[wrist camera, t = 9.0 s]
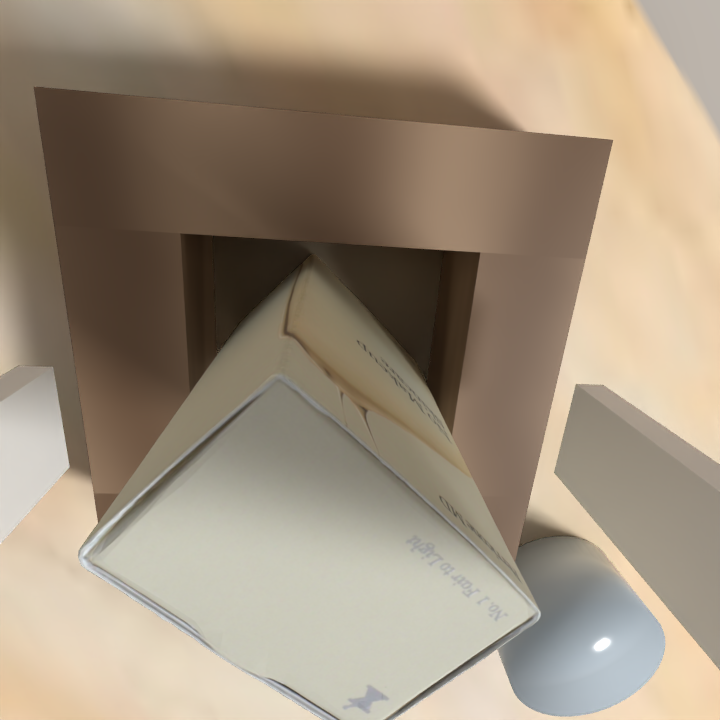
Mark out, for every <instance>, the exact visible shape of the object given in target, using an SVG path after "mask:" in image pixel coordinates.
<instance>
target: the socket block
mask: <svg viewBox="0 0 720 720" xmlns="http://www.w3.org/2000/svg"><path fill="white" fill-rule="evenodd" d="M34 91H35V98H36V105H37V112H38V119H39V125H40V132H41V139H42V146H43V152H44V159H45V166H46V173H47V180H48V186H49V193H50V200H51V207H52V213H53V220H54V227H55V234H56V240H57V247H58V254H59V261H60V268H61V274H62V281H63V288H64V295H65V301H66V308H67V315H68V322H69V329H70V335H71V342H72V349H73V356H74V362H75V369H76V376H77V383H78V389H79V396H80V403H81V410H82V417H83V423H84V430H85V437H86V444H87V450H88V457H89V464H90V471H91V478H92V484H93V491H94V498H95V505H96V511H97V518H98V523H99V521H100V520H101V518H102V517H103V516H104V514H105V513H106V511H107V510H108V509H109V507H110V506H111V504H112V503H113V502H114V500H115V499H116V497H117V496H118V495H119V493H120V492H121V490H122V489H123V488H124V486H125V485H126V483H127V482H128V481H129V479H130V478H131V477H132V475H133V474H134V472H135V471H136V470H137V468H138V467H139V465H140V464H141V463H142V461H143V460H144V458H145V457H146V455H147V454H148V452H149V451H150V450H151V448H152V447H153V445H154V444H155V442H156V441H157V439H158V438H159V437H160V435H161V434H162V432H163V431H164V430H165V428H166V427H167V425H168V424H169V422H170V421H171V419H172V418H173V417H174V415H175V414H176V412H177V411H178V410H179V408H180V407H181V405H182V404H183V403H184V401H185V400H186V398H187V397H188V396H189V394H190V393H191V391H192V390H193V388H194V387H195V385H196V384H197V382H198V381H199V380H200V378H201V377H202V375H203V374H204V373H205V371H206V370H207V368H208V367H209V366H210V364H211V363H212V361H213V360H214V359H215V357H216V356H217V351H216V323H215V296H214V269H213V241H212V235H214V236H230V237H246V238H261V239H277V240H293V241H308V242H324V243H340V244H356V245H371V246H387V247H403V248H419V249H434V250H444V255H443V262H442V270H441V278H440V285H439V293H438V301H437V309H436V316H435V324H434V332H433V339H432V347H431V355H430V363H429V370H428V378H427V386H428V388H429V390H430V392H431V394H432V396H433V398H434V400H435V402H436V404H437V406H438V408H439V411H440V413H441V415H442V417H443V419H444V421H445V423H446V425H447V427H448V429H449V431H450V433H451V435H452V437H453V439H454V442H455V444H456V446H457V447H458V449H459V451H460V453H461V455H462V458H463V460H464V462H465V464H466V466H467V468H468V470H469V472H470V474H471V476H472V478H473V480H474V482H475V484H476V486H477V488H478V490H479V492H480V494H481V496H482V498H483V500H484V502H485V504H486V506H487V508H488V510H489V512H490V514H491V516H492V518H493V520H494V522H495V524H496V526H497V528H498V530H499V532H500V534H501V536H502V538H503V540H504V542H505V544H506V546H507V548H508V550H509V552H510V554H511V556H512V558H513V560H514V562H515V560H516V556H517V551H518V547H519V543H520V538H521V534H522V530H523V525H524V521H525V517H526V513H527V508H528V504H529V500H530V495H531V491H532V487H533V482H534V478H535V474H536V470H537V465H538V461H539V457H540V452H541V448H542V444H543V439H544V435H545V431H546V426H547V422H548V418H549V414H550V409H551V405H552V401H553V396H554V392H555V388H556V383H557V379H558V375H559V371H560V366H561V362H562V358H563V353H564V349H565V345H566V340H567V336H568V332H569V327H570V323H571V319H572V315H573V310H574V306H575V302H576V297H577V293H578V289H579V284H580V280H581V276H582V272H583V267H584V263H585V259H586V254H587V250H588V246H589V241H590V237H591V233H592V229H593V224H594V220H595V216H596V211H597V207H598V203H599V198H600V194H601V190H602V185H603V181H604V177H605V173H606V168H607V164H608V160H609V155H610V151H611V147H612V142H613V140H608V139H597V138H587V137H576V136H565V135H554V134H543V133H532V132H521V131H511V130H500V129H489V128H478V127H467V126H456V125H445V124H435V123H424V122H413V121H402V120H391V119H380V118H369V117H358V116H348V115H337V114H326V113H315V112H304V111H293V110H282V109H272V108H261V107H250V106H239V105H228V104H217V103H206V102H196V101H185V100H174V99H163V98H152V97H141V96H130V95H120V94H109V93H98V92H87V91H76V90H65V89H54V88H44V87H34Z"/></svg>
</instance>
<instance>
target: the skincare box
mask: <svg viewBox="0 0 720 720" xmlns="http://www.w3.org/2000/svg"><path fill="white" fill-rule="evenodd" d="M78 558H79V561H80V564H81V566H82V567H84V568H85V569H86V570H88V571H89V572H91V573H93V574H94V575H96V576H98V577H99V578H101V579H103V580H104V581H106V582H108V583H109V584H111V585H112V586H114V587H115V588H117V589H119V590H120V591H122V592H123V593H124V594H126V595H127V596H129V597H130V598H131V599H133V600H135V601H136V602H138V603H139V604H141V605H142V606H144V607H146V608H147V609H149V610H151V611H152V612H154V613H155V614H156V615H158V616H159V617H160V618H161V619H163V620H165V621H167V622H169V623H171V624H172V625H174V626H175V627H176V628H178V629H179V630H181V631H182V632H184V633H186V634H187V635H189V636H191V637H192V638H194V639H195V640H196V641H198V642H199V643H200V644H201V645H203V646H204V647H206V648H207V649H209V650H210V651H211V652H213V653H215V654H216V655H218V656H219V657H221V658H222V659H224V660H225V661H227V662H228V663H230V664H232V665H233V666H235V667H237V668H238V669H240V670H241V671H243V672H245V673H246V674H248V675H250V676H252V677H254V678H255V679H257V680H259V681H261V682H263V683H264V684H266V685H268V686H269V687H271V688H272V689H274V690H276V691H277V692H279V693H280V694H282V695H283V696H285V697H286V698H288V699H290V700H292V701H293V702H295V703H296V704H298V705H299V706H301V707H302V708H304V709H306V710H308V711H310V712H311V713H312V714H314V715H316V716H317V717H319V718H320V719H322V720H394V719H396V718H397V717H399V716H400V715H402V714H404V713H405V712H406V711H407V710H409V709H410V708H412V707H414V706H416V705H417V704H418V703H419V702H421V701H422V700H424V699H425V698H427V697H429V696H430V695H432V694H433V693H434V692H435V691H437V690H439V689H440V688H442V687H443V686H445V685H446V684H448V683H449V682H451V681H452V680H454V679H455V678H456V677H457V676H459V675H461V674H462V673H464V672H465V671H467V670H468V669H470V668H472V667H473V666H475V665H476V664H478V663H479V662H480V661H482V660H483V659H485V658H486V657H487V656H488V655H490V654H491V653H492V652H494V651H495V650H497V649H498V648H500V647H501V646H503V645H504V644H506V643H507V642H508V641H510V640H511V639H513V638H514V637H516V636H517V635H519V634H520V633H521V632H523V631H524V630H526V629H527V628H529V627H530V626H532V625H533V624H535V623H536V622H537V621H538V620H539V618H540V616H541V612H540V610H539V608H538V606H537V604H536V602H535V600H534V598H533V596H532V594H531V592H530V590H529V588H528V586H527V585H526V583H525V581H524V579H523V577H522V575H521V573H520V571H519V569H518V567H517V565H516V564H515V562H514V560H513V558H512V556H511V554H510V552H509V550H508V548H507V546H506V544H505V542H504V540H503V538H502V536H501V534H500V532H499V530H498V528H497V526H496V524H495V522H494V520H493V518H492V516H491V514H490V512H489V510H488V508H487V506H486V504H485V502H484V500H483V498H482V496H481V494H480V492H479V490H478V488H477V486H476V484H475V482H474V480H473V478H472V476H471V474H470V472H469V470H468V468H467V466H466V464H465V462H464V460H463V458H462V455H461V453H460V451H459V449H458V447H457V446H456V444H455V442H454V439H453V437H452V435H451V433H450V431H449V429H448V427H447V425H446V423H445V421H444V419H443V417H442V415H441V413H440V411H439V408H438V406H437V404H436V402H435V400H434V398H433V396H432V394H431V392H430V390H429V388H428V386H427V384H426V382H425V380H424V378H423V376H422V374H421V371H420V369H419V367H418V365H417V363H416V361H415V360H414V359H413V358H412V357H411V356H410V355H409V354H408V353H407V352H406V351H405V350H404V348H403V347H402V346H401V345H400V344H399V343H398V342H397V341H396V339H395V338H394V337H393V336H392V335H391V334H390V333H389V332H388V331H387V329H386V328H385V327H384V326H383V325H382V324H381V323H380V322H379V321H378V320H377V319H376V318H375V316H374V315H373V314H372V313H371V312H370V311H369V310H368V309H367V308H366V307H365V306H364V305H363V304H362V303H361V302H360V300H359V299H358V298H357V297H356V296H355V295H354V294H353V293H352V292H351V291H350V290H349V289H348V288H347V287H346V286H345V285H344V284H343V283H342V282H341V281H340V280H339V279H338V277H337V276H336V275H335V274H334V273H333V272H332V271H331V270H330V269H329V268H328V267H327V266H326V265H325V264H324V263H323V262H322V261H321V260H320V259H319V258H318V257H317V256H316V255H315V254H312V255H310V256H309V257H308V258H307V259H306V260H305V261H304V262H303V263H302V264H301V265H299V266H298V267H297V268H296V269H295V270H294V271H293V272H292V273H291V274H290V275H289V276H287V277H286V278H285V279H284V280H283V281H282V282H281V283H280V284H279V285H278V286H277V287H276V288H275V289H274V290H273V291H272V292H271V293H270V294H269V295H268V296H266V297H265V298H264V299H263V300H262V301H261V302H260V303H259V304H258V305H257V306H256V307H255V308H254V309H253V310H252V311H251V312H250V313H249V314H248V315H247V316H246V317H245V318H244V319H243V320H242V321H241V322H240V323H239V324H238V326H237V327H236V329H235V330H234V331H233V333H232V334H231V336H230V337H229V338H228V340H227V341H226V343H225V344H224V346H223V347H222V348H221V350H220V351H219V353H218V354H217V356H216V357H215V359H214V360H213V361H212V363H211V364H210V366H209V367H208V368H207V370H206V371H205V373H204V374H203V375H202V377H201V378H200V380H199V381H198V382H197V384H196V385H195V387H194V388H193V390H192V391H191V393H190V394H189V396H188V397H187V398H186V400H185V401H184V403H183V404H182V405H181V407H180V408H179V410H178V411H177V412H176V414H175V415H174V417H173V418H172V419H171V421H170V422H169V424H168V425H167V427H166V428H165V430H164V431H163V432H162V434H161V435H160V437H159V438H158V439H157V441H156V442H155V444H154V445H153V447H152V448H151V450H150V451H149V452H148V454H147V455H146V457H145V458H144V460H143V461H142V463H141V464H140V465H139V467H138V468H137V470H136V471H135V472H134V474H133V475H132V477H131V478H130V479H129V481H128V482H127V483H126V485H125V486H124V488H123V489H122V490H121V492H120V493H119V495H118V496H117V497H116V499H115V500H114V502H113V503H112V504H111V506H110V507H109V509H108V510H107V511H106V513H105V514H104V516H103V517H102V518H101V520H100V521H99V523H98V524H97V525H96V527H95V528H94V530H93V531H92V532H91V534H90V535H89V537H88V538H87V539H86V541H85V542H84V544H83V545H82V547H81V548H80V550H79V554H78Z"/></svg>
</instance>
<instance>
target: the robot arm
mask: <svg viewBox="0 0 720 720" xmlns="http://www.w3.org/2000/svg"><path fill="white" fill-rule="evenodd" d="M69 467H70V466H69V460H68V454H67V448H66V442H65V436H64V430H63V423H62V417H61V411H60V405H59V399H58V393H57V387H56V381H55V375H54V369H53V367H44V366H17V367H15V368H14V369H12V370H10V371H9V372H7V373H5V374H3V375H2V376H0V544H1V543H2V542H3V541H4V540H5V538H6V537H7V536H8V535H9V534H10V533H11V532H12V531H13V530H14V528H15V527H16V526H17V525H18V524H19V523H20V522H21V521H22V519H23V518H24V517H25V516H26V515H27V514H28V513H29V512H30V511H31V509H32V508H33V507H34V506H35V505H36V504H37V503H38V502H39V500H40V499H41V498H42V497H43V496H44V495H45V494H46V493H47V492H48V490H49V489H50V488H51V487H52V486H53V485H54V484H55V483H56V482H57V480H58V479H59V478H60V477H61V476H62V475H63V474H64V473H65V471H66V470H67V469H68V468H69ZM554 473H555V474H556V475H557V477H558V478H559V479H560V480H561V481H562V482H563V484H564V485H565V486H566V487H567V488H568V490H569V491H570V492H571V493H572V494H573V496H574V497H575V498H576V499H577V500H578V502H579V503H580V504H581V505H582V506H583V508H584V509H585V510H586V511H587V512H588V513H589V515H590V516H591V517H592V518H593V519H594V521H595V522H596V523H597V524H598V525H599V527H600V528H601V529H602V530H603V531H604V533H605V534H606V535H607V536H608V537H609V539H610V540H611V541H612V542H613V543H614V544H615V546H616V547H617V548H618V549H619V550H620V552H621V553H622V554H623V555H624V556H625V558H626V559H627V560H628V561H629V562H630V564H631V565H632V566H633V567H634V568H635V570H636V571H637V572H638V573H639V574H640V575H641V577H642V578H643V579H644V580H645V581H646V583H647V584H648V585H649V586H650V587H651V589H652V590H653V591H654V592H655V593H656V595H657V596H658V597H659V598H660V599H661V601H662V602H663V603H664V604H665V605H666V606H667V608H668V609H669V610H670V611H671V612H672V614H673V615H674V616H675V617H676V618H677V620H678V621H679V622H680V623H681V624H682V626H683V627H684V628H685V629H686V630H687V632H688V633H689V634H690V635H691V636H692V637H693V639H694V640H695V641H696V642H697V643H698V645H699V646H700V647H701V648H702V649H703V651H704V652H705V653H706V654H707V655H708V657H709V658H710V659H711V660H712V661H713V663H714V664H715V665H716V666H717V667H718V668H719V670H720V464H718V463H717V462H715V461H714V460H712V459H711V458H709V457H708V456H706V455H705V454H704V453H702V452H701V451H699V450H698V449H696V448H695V447H693V446H692V445H690V444H689V443H687V442H686V441H684V440H683V439H682V438H680V437H679V436H677V435H676V434H674V433H673V432H671V431H670V430H668V429H667V428H665V427H664V426H662V425H661V424H660V423H658V422H657V421H655V420H654V419H652V418H651V417H649V416H648V415H646V414H645V413H643V412H642V411H640V410H639V409H638V408H636V407H635V406H633V405H632V404H630V403H629V402H627V401H626V400H624V399H623V398H621V397H620V396H618V395H617V394H616V393H614V392H613V391H611V390H610V389H608V388H607V387H605V386H604V385H589V384H576V386H575V390H574V394H573V399H572V403H571V407H570V411H569V415H568V419H567V423H566V427H565V431H564V435H563V439H562V443H561V447H560V451H559V455H558V459H557V463H556V467H555V471H554Z"/></svg>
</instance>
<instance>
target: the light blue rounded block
mask: <svg viewBox="0 0 720 720" xmlns="http://www.w3.org/2000/svg"><path fill="white" fill-rule="evenodd" d="M515 564H516V565H517V567H518V569H519V571H520V573H521V575H522V577H523V579H524V581H525V583H526V585H527V586H528V588H529V590H530V592H531V594H532V596H533V598H534V600H535V602H536V604H537V606H538V608H539V610H540V612H541V616H540V618H539V620H538V621H537V622H536V623H535V624H533V625H532V626H530V627H529V628H527V629H526V630H524V631H523V632H521V633H520V634H519V635H517V636H516V637H514V638H513V639H511V640H510V641H508V642H507V643H506V644H504V645H503V646H501V647H500V648H498V649H497V650H498V653H499V655H500V658H501V660H502V663H503V666H504V668H505V671H506V673H507V676H508V678H509V681H510V684H511V686H512V689H513V691H514V693H515V694H516V696H517V697H518V699H519V700H520V701H521V702H522V703H523V704H525V705H526V706H528V707H529V708H531V709H533V710H535V711H537V712H540V713H543V714H548V715H552V716H580V715H585V714H590V713H594V712H598V711H601V710H604V709H606V708H609V707H611V706H613V705H616V704H618V703H620V702H621V701H623V700H625V699H627V698H628V697H630V696H631V695H633V694H634V693H635V692H637V691H638V690H639V689H640V688H641V687H642V686H644V685H645V684H646V683H647V682H648V680H649V679H650V678H651V677H652V676H653V674H654V673H655V671H656V670H657V668H658V667H659V665H660V663H661V661H662V658H663V655H664V650H665V636H664V632H663V629H662V627H661V625H660V624H659V622H658V621H657V619H656V618H655V617H654V616H653V614H652V613H651V612H650V610H649V609H648V608H647V607H646V605H645V604H644V603H643V602H642V600H641V599H640V598H639V596H638V595H637V594H636V593H635V591H634V590H633V589H632V588H631V586H630V585H629V584H628V582H627V581H626V580H625V579H624V577H623V576H622V575H621V574H620V572H619V571H618V570H617V568H616V567H615V566H614V565H613V563H612V562H611V561H610V560H609V558H608V557H607V556H606V554H605V553H604V552H603V551H602V550H601V549H600V548H599V547H597V546H596V545H594V544H593V543H591V542H589V541H587V540H584V539H581V538H577V537H571V536H552V537H546V538H541V539H538V540H534V541H531V542H529V543H526V544H524V545H522V546H520V547H518V551H517V556H516V560H515Z"/></svg>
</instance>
